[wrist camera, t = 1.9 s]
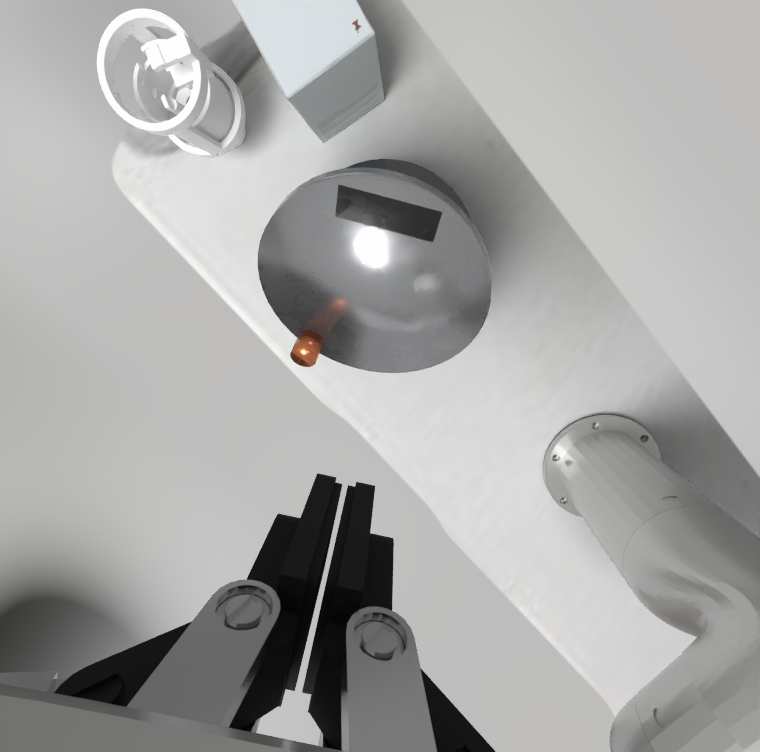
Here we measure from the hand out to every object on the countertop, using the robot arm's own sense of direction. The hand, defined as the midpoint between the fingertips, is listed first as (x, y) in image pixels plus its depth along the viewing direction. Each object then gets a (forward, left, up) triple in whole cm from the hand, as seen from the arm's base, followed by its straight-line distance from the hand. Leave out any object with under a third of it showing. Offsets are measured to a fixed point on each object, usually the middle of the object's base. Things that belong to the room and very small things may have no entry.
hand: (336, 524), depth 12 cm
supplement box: (+11, -21, -36) cm, 43 cm away
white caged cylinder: (+20, -15, -36) cm, 43 cm away
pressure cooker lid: (+2, -5, -21) cm, 21 cm away
